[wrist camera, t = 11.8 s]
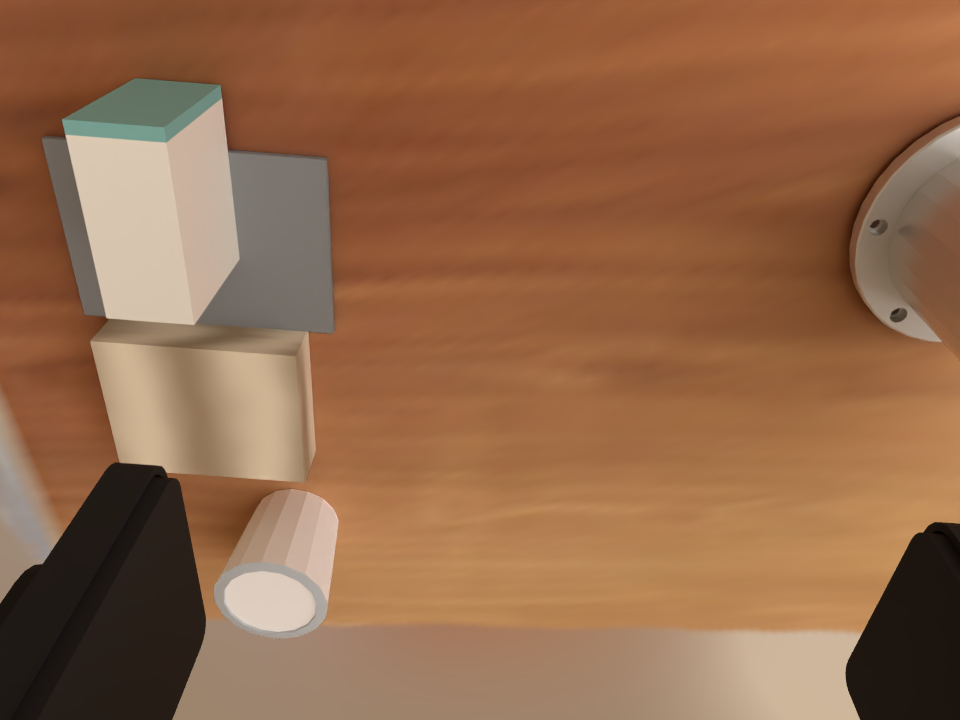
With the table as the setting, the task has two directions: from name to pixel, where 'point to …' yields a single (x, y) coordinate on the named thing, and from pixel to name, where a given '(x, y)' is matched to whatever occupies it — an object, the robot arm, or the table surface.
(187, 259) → the cream block
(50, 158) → the grey mat
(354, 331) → the table surface
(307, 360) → the birch step
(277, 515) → the pale pink cylinder
